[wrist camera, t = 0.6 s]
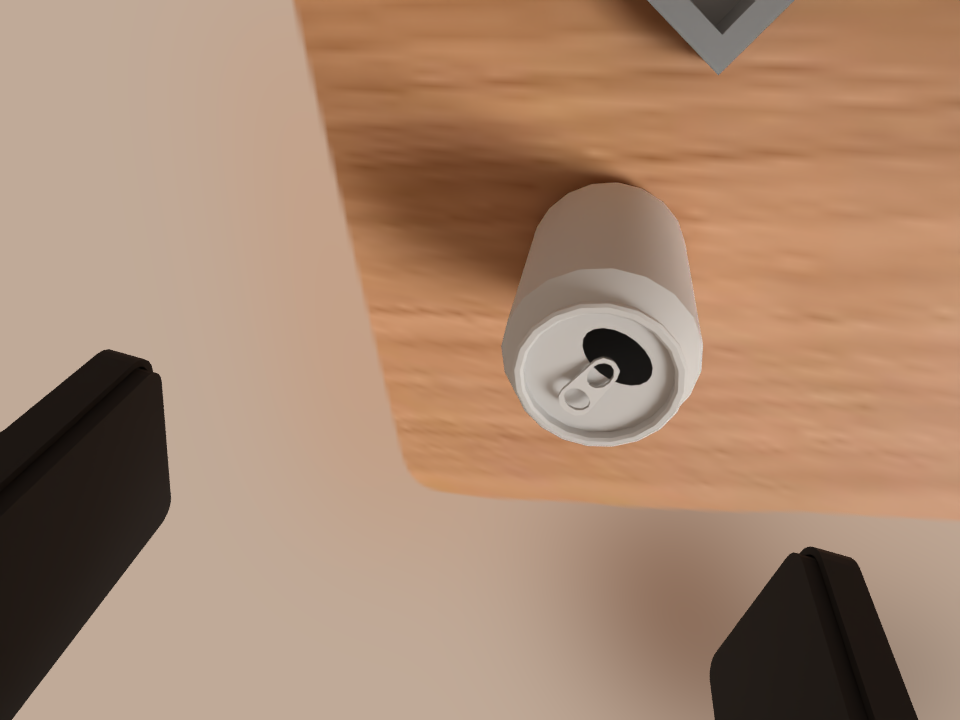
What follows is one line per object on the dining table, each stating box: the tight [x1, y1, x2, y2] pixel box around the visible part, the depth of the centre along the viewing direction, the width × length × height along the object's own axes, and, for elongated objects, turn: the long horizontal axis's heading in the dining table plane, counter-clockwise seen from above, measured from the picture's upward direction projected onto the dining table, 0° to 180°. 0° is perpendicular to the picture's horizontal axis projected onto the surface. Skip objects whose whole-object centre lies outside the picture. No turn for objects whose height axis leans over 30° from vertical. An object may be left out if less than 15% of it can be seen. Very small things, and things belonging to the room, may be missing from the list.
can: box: [501, 182, 703, 446], centre depth 28 cm, size 8×8×12 cm
